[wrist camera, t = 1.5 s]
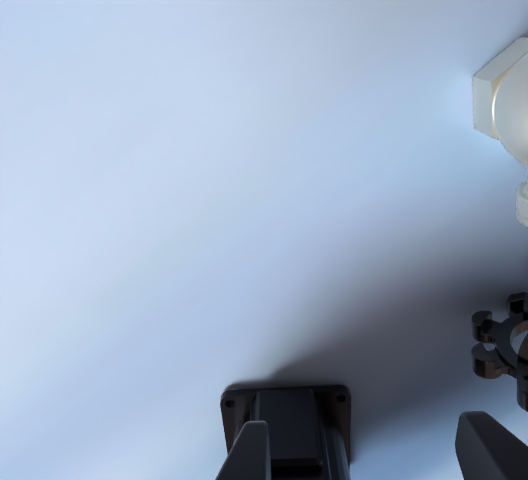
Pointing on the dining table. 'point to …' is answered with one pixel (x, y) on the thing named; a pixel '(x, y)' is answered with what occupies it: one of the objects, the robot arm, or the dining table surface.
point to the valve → (524, 151)
